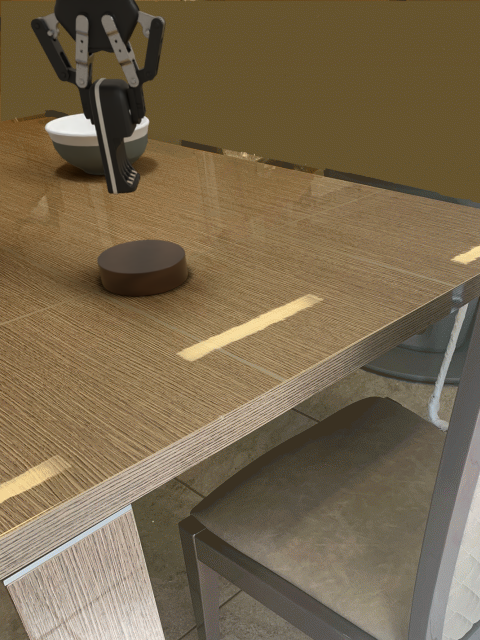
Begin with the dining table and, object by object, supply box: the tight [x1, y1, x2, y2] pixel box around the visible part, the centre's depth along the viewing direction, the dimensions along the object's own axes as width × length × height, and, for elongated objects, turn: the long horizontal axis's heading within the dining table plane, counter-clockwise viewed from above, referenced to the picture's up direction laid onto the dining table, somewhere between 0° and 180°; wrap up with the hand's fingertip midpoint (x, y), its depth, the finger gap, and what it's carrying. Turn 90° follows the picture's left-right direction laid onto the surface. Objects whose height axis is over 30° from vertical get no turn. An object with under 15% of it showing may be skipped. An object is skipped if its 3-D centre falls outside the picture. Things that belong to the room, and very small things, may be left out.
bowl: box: [44, 112, 150, 176], centre depth 121 cm, size 19×19×8 cm
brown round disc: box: [96, 239, 189, 297], centre depth 83 cm, size 11×11×3 cm
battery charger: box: [89, 77, 141, 195], centre depth 73 cm, size 7×4×11 cm, turn 6°
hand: (117, 122), depth 72 cm, fingers closed on battery charger, 4 cm apart
